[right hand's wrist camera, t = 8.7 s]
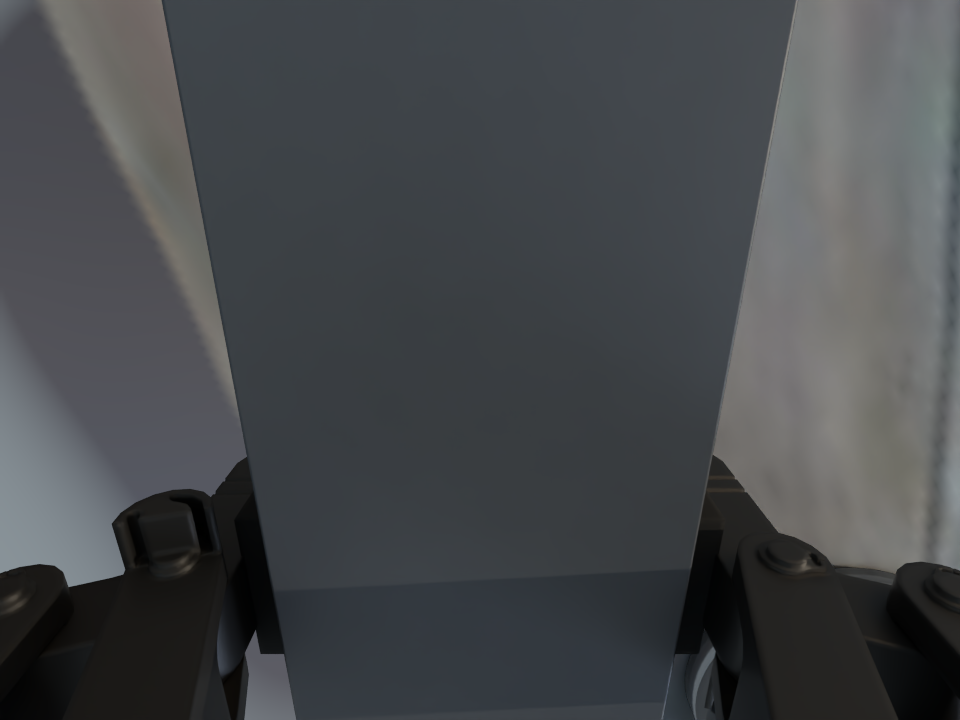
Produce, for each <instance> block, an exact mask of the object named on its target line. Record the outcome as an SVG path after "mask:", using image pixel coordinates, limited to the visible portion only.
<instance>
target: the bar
mask: <svg viewBox="0 0 960 720" xmlns="http://www.w3.org/2000/svg"><path fill="white" fill-rule="evenodd" d="M162 4H163V10H164V15H165V20H166V26H167V31H168V37H169V42H170V47H171V53H172V58H173V63H174V69H175V74H176V79H177V85H178V90H179V95H180V101H181V106H182V111H183V117H184V122H185V127H186V133H187V138H188V143H189V149H190V154H191V159H192V165H193V170H194V175H195V181H196V186H197V191H198V197H199V202H200V207H201V213H202V218H203V223H204V229H205V234H206V239H207V245H208V250H209V255H210V261H211V266H212V271H213V277H214V282H215V287H216V293H217V298H218V304H219V309H220V314H221V320H222V325H223V330H224V336H225V341H226V346H227V352H228V357H229V362H230V368H231V373H232V378H233V384H234V389H235V394H236V400H237V405H238V410H239V416H240V421H241V426H242V432H243V437H244V442H245V448H246V453H247V458H248V464H249V469H250V474H251V480H252V485H253V490H254V496H255V501H256V506H257V512H258V517H259V522H260V528H261V533H262V538H263V544H264V549H265V555H266V560H267V565H268V571H269V576H270V581H271V587H272V592H273V597H274V603H275V608H276V613H277V619H278V624H279V629H280V635H281V640H282V645H283V651H284V656H285V661H286V667H287V672H288V677H289V682H290V688H291V693H292V699H293V704H294V709H295V715H296V720H663V715H664V709H665V704H666V699H667V693H668V688H669V683H670V678H671V672H672V667H673V662H674V656H675V651H676V646H677V641H678V635H679V630H680V625H681V619H682V614H683V609H684V604H685V598H686V593H687V588H688V582H689V577H690V572H691V566H692V561H693V556H694V551H695V545H696V540H697V535H698V529H699V524H700V519H701V514H702V508H703V503H704V498H705V492H706V487H707V482H708V476H709V471H710V466H711V461H712V455H713V450H714V445H715V439H716V434H717V429H718V424H719V418H720V413H721V408H722V402H723V397H724V392H725V386H726V381H727V376H728V371H729V365H730V360H731V355H732V349H733V344H734V339H735V334H736V328H737V323H738V318H739V312H740V307H741V302H742V297H743V291H744V286H745V281H746V275H747V270H748V265H749V259H750V254H751V249H752V244H753V238H754V233H755V228H756V222H757V217H758V212H759V207H760V201H761V196H762V191H763V185H764V180H765V175H766V169H767V164H768V159H769V154H770V148H771V143H772V138H773V132H774V127H775V122H776V117H777V111H778V106H779V101H780V95H781V90H782V85H783V79H784V74H785V69H786V64H787V58H788V53H789V48H790V42H791V37H792V32H793V27H794V21H795V16H796V11H797V5H798V0H162Z"/></svg>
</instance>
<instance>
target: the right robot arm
mask: <svg viewBox="0 0 960 720" xmlns="http://www.w3.org/2000/svg"><path fill="white" fill-rule="evenodd" d="M112 527H113V530H114V533H115V537H116V540H117V543H118V547H119V550H120V553H121V557H122V560H123V563H124V567H125V572H124V574H123V575H121V576H117V577H113V578H109V579H105V580H100V581H95V582H91V583H86V584H81V585H77V586H72V587H68V585H67V582H66V579H65V576H64V573H63V572H62V571H61V570H59V569H58V568H57V567H55V566H51V565H42V564H37V565H31V566H24V567H19V568H16V569H12V570H9V571H7V572H6V571H5V572H3V573H0V720H244V716H245V706H246V697H247V686H248V677H249V673H248V667H247V661H246V657H245V651H246V649H247V647H248V645H249V643H250V641H251V638H252V636H253V634H254V632H255V630H256V633H257V638H258V643H259V648H260V653H261V654H284V651H283V645H282V640H281V635H280V629H279V624H278V619H277V613H276V608H275V603H274V597H273V592H272V587H271V581H270V576H269V571H268V565H267V560H266V555H265V549H264V544H263V538H262V533H261V528H260V522H259V517H258V512H257V506H256V501H255V496H254V490H253V485H252V480H251V474H250V469H249V464H248V458H247V457H246V458H244V459H243V460H241V461H240V462H238V463H237V464H236V466H235V467H234V468H233V469H232V471H231V472H230V473H229V475H228V476H227V477H226V480H225V482H222V484H221V485H220V486H219V487H218V489H217V490H216V494H213V495H212V497H210V496H208V495H207V494H206V493H205V492H202V491H197V490H192V489H182V490H171V491H167V492H163V493H159V494H155V495H152V496H150V497H148V498H145V499H143V500H141V501H138V502H136V503H134V504H133V505H132V506H130V507H129V508H127V509H126V510H124V511H123V512H121V513H120V515H119V516H118V517H117V518H116V519H115V521H114V522H113V523H112ZM704 628H705V630H706V631H705V632H704V633H703V631H704ZM675 654H691V655H690V658H689V661H688V664H687V669H686V673H685V691H686V695H687V700H688V702H689V705H690V708H691V710H692V713H693V715H694V718H695V720H960V571H959V570H956V569H952V568H950V567H947V566H943V565H939V564H932V563H926V562H914V563H906V564H904V565H903V566H902V567H900V568H899V569H898V570H897V572H896V575H895V574H892V573H888V572H884V571H879V570H873V569H865V568H834V567H833V566H832V565H831V563H830V562H829V560H828V559H827V557H826V556H824V555H823V554H822V553H820V552H819V551H818V550H817V549H815V548H814V547H813V546H811V545H809V544H807V543H805V542H803V541H801V540H799V539H797V538H795V537H791V536H788V535H784V534H781V533H778V532H777V531H776V529H775V528H774V527H773V525H772V524H771V523H770V522H769V520H768V519H767V518H766V516H765V515H764V514H763V513H762V511H761V510H760V509H759V507H758V506H757V505H756V504H755V502H754V501H753V500H752V498H751V497H750V496H749V495H748V493H745V492H744V488H743V487H742V486H741V484H740V483H739V482H738V480H735V477H734V475H733V474H732V473H731V471H730V470H729V469H728V468H727V466H726V465H725V464H724V462H723V461H721V460H720V459H718V458H717V457H715V456H714V455H712V461H711V466H710V471H709V476H708V482H707V487H706V492H705V498H704V503H703V508H702V514H701V519H700V524H699V529H698V535H697V540H696V545H695V551H694V556H693V561H692V566H691V572H690V577H689V582H688V588H687V593H686V598H685V604H684V609H683V614H682V619H681V625H680V630H679V635H678V641H677V646H676V651H675Z"/></svg>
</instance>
